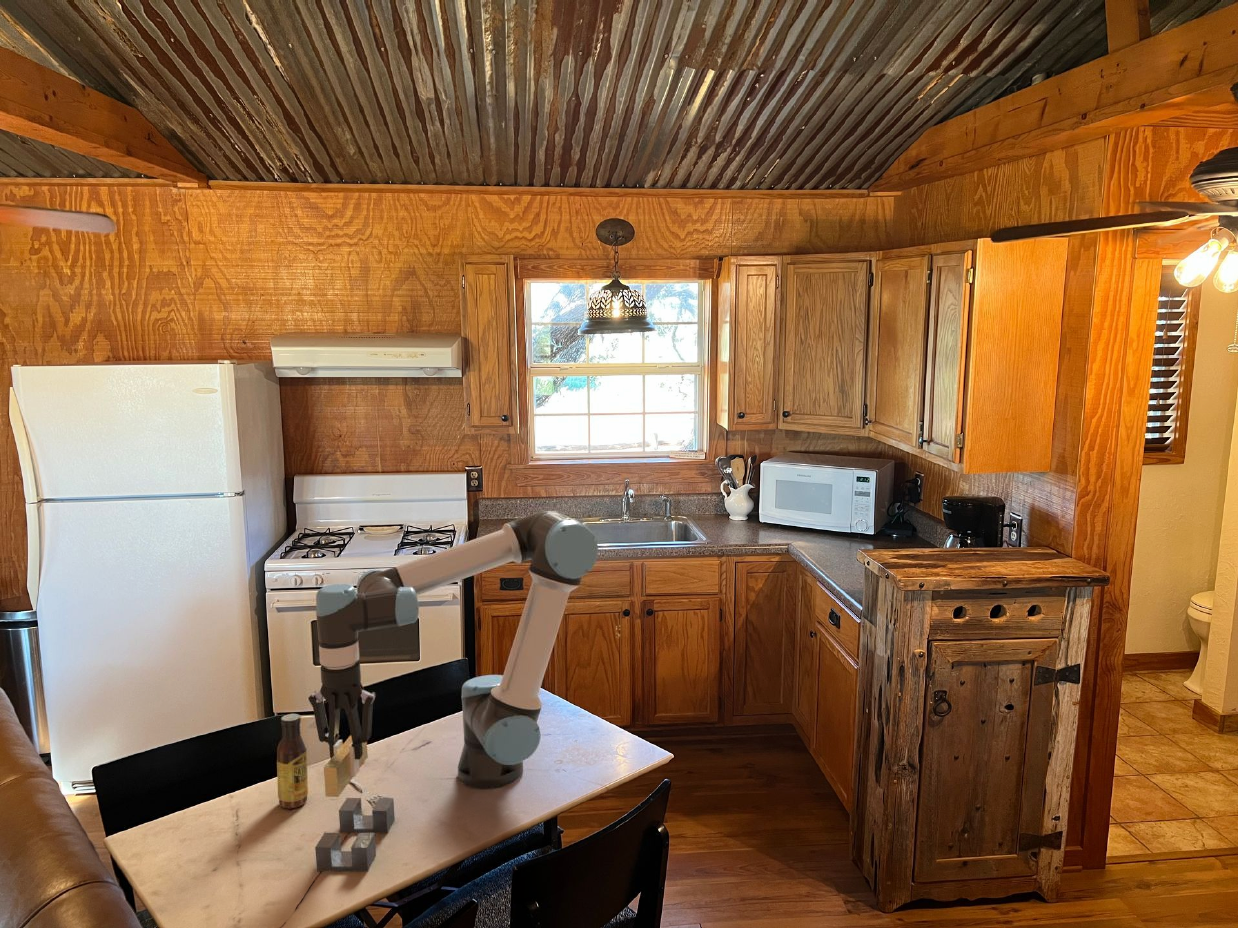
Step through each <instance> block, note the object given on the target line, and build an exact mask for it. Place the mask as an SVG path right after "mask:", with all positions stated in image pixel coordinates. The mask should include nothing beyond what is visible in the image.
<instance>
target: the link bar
mask: <svg viewBox="0 0 1238 928" xmlns="http://www.w3.org/2000/svg"><path fill="white" fill-rule="evenodd" d="M351 743H352V738H351V734H350V735H349V736H348V738H347V739H346V740H345V742H343V745H342V746H341V748H340V749H339V750H338V751H337V752H336V753H335V755H334V756H333V757H332V758H330V759H329V760H328V761H327V763H326V764H325V765H324V766H323V776H324V777H323V778H324V791H325V797H326V798H327V797H330V798H331V797H332V798H339V797H340V796H341V794H342V792H343V791H344V790H345V789H346V787H347V786H348V784H350V783H351V782H350V781H351V779H353V778H354V777H351V767H350V753H349V746H350V744H351ZM362 748H363V755H362V757H361V758H360V759H359V768H360V769H361V767H362V766H363V765H364V763H365V762H366V760H367V759H368V757H369V754H368V741H367V742H365V743H362Z"/></svg>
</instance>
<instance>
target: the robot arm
mask: <svg viewBox="0 0 1238 928" xmlns="http://www.w3.org/2000/svg"><path fill="white" fill-rule="evenodd" d="M598 554H599V545H598V541H597V539H596V536H595V535H594V533H593V531H592V530H591V529H590V528H588V527H587V525H585V524H584V523H582V521H579V520H577V519H575V518H572V517H570V516H568V515H566V514H565V513H562V512H560V511H556V510H543V511H538V512H535V513H531V514H529V515H526V516H523V517H520V518H517V519H515V520H512V521H508V522H506V523H504V524H503V526H502V528H501V529H500V530H496V531H494V532H492V533H491V532H490V533H488V534H486V535H483V536H480V537H477V538H474V539H471V540H468V541H465V542H463V543H459V544H457V545H455V546H452V547H449V548H446V549H444V550H441V551H437V552H435V553H432V554H429V555H426V556H423V557H421V558H418V559H415V560H412V561H409V562H406V563H403V564H401V565H398V566H395V567H392V568H388V569H385V570H380V569H370V570H367V571H366V572H364V573H363V574H362V575H360V577H359V578H358V581H357V583H356V588H355V587H354V586H353V585H352V584H348V583H341V584H340V583H336V584H333V583H332V584H329V585H326V586H323V587H321V588H320V589H318V591H317V592H316V595H315V596H316V597H315V606H316V608H315V609H316V611H315V614H316V625H317V636H318V637H317V639H318V651H319V652H318V653H319V654H318V655H319V663H320V681H321V688H320V690H318V691H317V690H315V691H314V692H312V693H311V694H310V695H309V696H308V698H307V699H308V702H309V704H310V705H311V706H312V709H313V714H314V721H315V725H316V730H317V736H318V740H319V742H321V743H323V742H324V743H326V744H328V746H329V747H328V748H329V757H330V759H331V758H332V757H333V756H334V755H335V753H336V752H337V751H338V750H339V749H340V748H341V746H342V745H343V744H344V742H343V739H339V738H340V737H341V735H339V733H340V732H339V731H340V718H341V715H340V714H341V709H344V712H345V715H346V716H347V721H348V727H349V732H350V735H351V738H352V743H351V744H350V746H349V753H350V767H351V777H353V778H354V777H355V778H356V776H357V774H358V773H359V772H360V769H361V767H360V768H359V759H360V758H361V757H362V755H363V748H362V743H365V742H367V743H368V741H369V740H370V738H371V737H372V726H373V711H374V710H373V706H374V702H375V699H376V698H377V692H374V691H372V692H369V691H366V690H365V688H364V686H363V684H362V680H361V679H362V676H361V675H362V673H361V662H360V647H359V646H360V645H359V632H363V631H364V632H366V631H367V632H368V631H373V630H379V629H380V630H381V629H387V628H393V627H402V626H405V625H410V624H414V623H416V622H417V621H418V619H419V610H420V608H419V607H420V606H419V599H418V596H420V595H423V594H426V593H428V592H431V591H434V590H436V589H439V588H441V587H445V586H447V585H450V584H454V583H456V582H459V581H461V580H464V579H466V578H469V577H473V576H475V575H478V574H480V573H484V572H485V571H489V570H491V569H495V568H496V567H497V568H498V567H500V566H503V565H505V564H508V563H511V562H514V563H516V564H521V563H524V562H527V561H531V562H530V564H529V567H528V573H529V575H530V577H531V579H532V582H531V585H530V586H529V587H530V588H529V592H528V595H527V597H526V601H525V603H524V604H525V605H524V607H523V610H522V613H521V616H520V620H519V623H518V626H517V630H516V634H515V637H514V639H513V643H512V646H511V649H510V653H509V655H508V659H507V662H506V665H505V669H504V672H503V675H502V674H488V675H487V674H486V675H481V676H476V677H473V678H471V679H468V680H466V681H465V682H464V683H463V684H462V686H461V695H460V696H461V697H460V698H461V705H462V706H461V708H462V724H463V725H462V726H463V747H462V750H461V754H460V756H459V757H460V758H459V761H458V765H457V776H458V779H459V782H461V783H462V784H463V785H465V786H467V787H470V788H473V789H480V790H481V789H482V790H483V789H484V790H486V789H487V790H489V789H491V790H492V789H497V788H502V787H506V786H508V785H511V784H512V783H514V782H516V781H517V780H519V779H520V778H521V776H522V775H523V773H524V761H526V760H527V759H529V758H530V757H531V756H533V754H534V753H535V752H536V750H537V749H538V746H539V744H540V742H541V730H540V725H538V720H539V716H540V714H541V710H542V707H543V703H542V701H541V699H540V697H539V693H540V690H541V688H542V684H543V680H544V677H545V674H546V670H547V668H548V665H549V661H550V658H551V654H552V651H553V648H554V645H555V643H556V638H557V637H558V636H557V635H558V632H559V629H560V625H561V622H562V619H563V616H564V613H565V610H566V607H567V605H568V599H569V597H570V593H571V592H572V591H574V590H575V589H578V587H580V585H581V581H582V579H583V576H585V575H586V574H587V573H589V572H590V571H591V570H593V568H594V566H595V564H596V562H597V560H598V556H599V555H598ZM360 697H361V702H362V704H363V706H362V714H361V715H362V717H361V721H360V716H359V712H358V706H359V705H358V700H359V699H360ZM324 700H325V701H326V702H327V704H328V713H329V717H328V718H329V719H328V718H327V712H326V707H325V703H324Z"/></svg>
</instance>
